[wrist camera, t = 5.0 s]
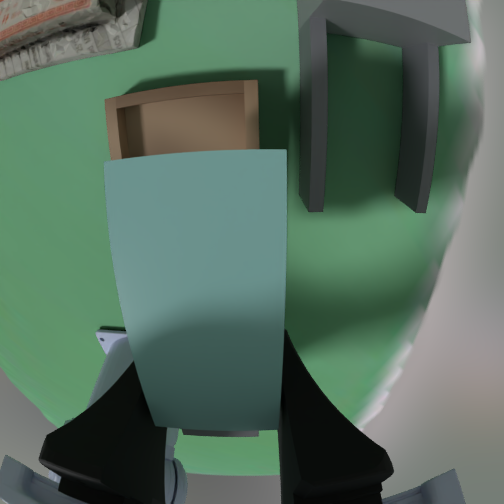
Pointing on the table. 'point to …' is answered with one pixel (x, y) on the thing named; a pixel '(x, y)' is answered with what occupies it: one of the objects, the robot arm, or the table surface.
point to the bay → (414, 82)
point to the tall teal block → (203, 284)
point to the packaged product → (65, 31)
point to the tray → (184, 119)
